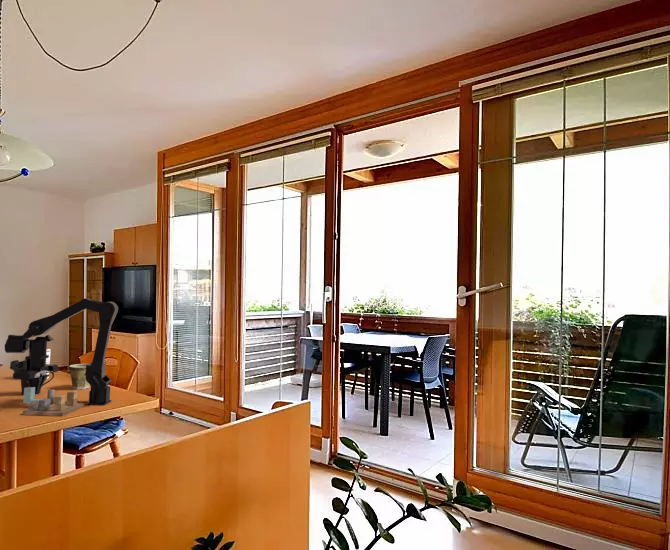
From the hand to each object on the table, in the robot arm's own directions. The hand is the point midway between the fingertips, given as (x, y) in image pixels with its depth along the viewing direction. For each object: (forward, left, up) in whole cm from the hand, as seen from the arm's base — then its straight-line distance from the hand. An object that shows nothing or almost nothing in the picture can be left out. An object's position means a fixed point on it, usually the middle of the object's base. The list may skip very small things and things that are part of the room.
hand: (35, 394), depth 179 cm
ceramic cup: (0, -33, -4) cm, 33 cm away
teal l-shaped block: (-2, +3, -2) cm, 5 cm away
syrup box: (+28, -48, -4) cm, 55 cm away
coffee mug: (+11, -18, -4) cm, 21 cm away
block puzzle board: (-12, +7, -4) cm, 15 cm away
